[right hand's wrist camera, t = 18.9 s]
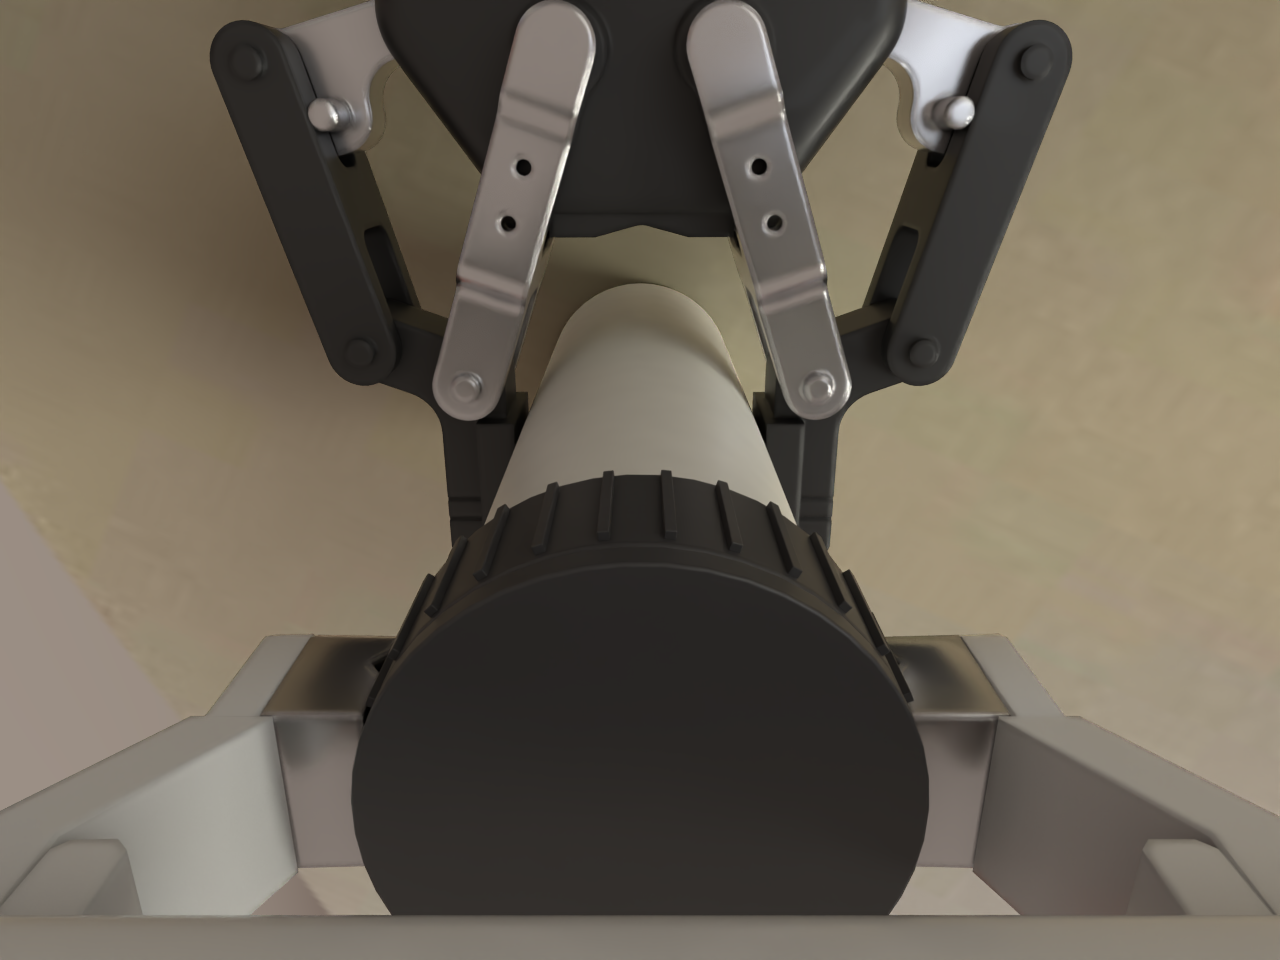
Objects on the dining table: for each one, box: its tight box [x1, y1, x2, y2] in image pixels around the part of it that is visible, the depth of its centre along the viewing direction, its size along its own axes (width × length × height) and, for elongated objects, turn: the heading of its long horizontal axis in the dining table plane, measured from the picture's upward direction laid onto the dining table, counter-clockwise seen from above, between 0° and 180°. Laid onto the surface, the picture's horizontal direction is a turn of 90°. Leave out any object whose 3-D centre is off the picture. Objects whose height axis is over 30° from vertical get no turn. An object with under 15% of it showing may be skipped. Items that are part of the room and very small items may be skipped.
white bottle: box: [484, 283, 797, 525], centre depth 16 cm, size 5×5×16 cm
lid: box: [351, 470, 929, 915], centre depth 9 cm, size 5×5×2 cm
